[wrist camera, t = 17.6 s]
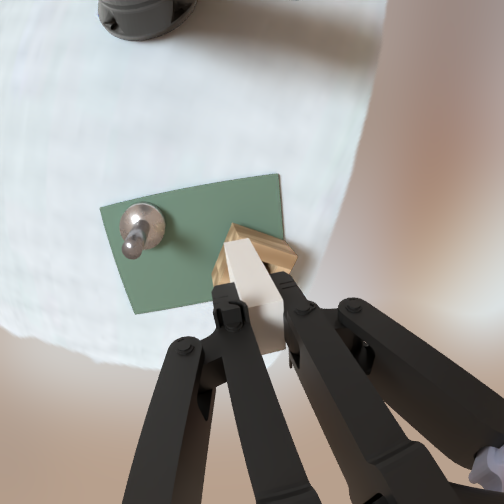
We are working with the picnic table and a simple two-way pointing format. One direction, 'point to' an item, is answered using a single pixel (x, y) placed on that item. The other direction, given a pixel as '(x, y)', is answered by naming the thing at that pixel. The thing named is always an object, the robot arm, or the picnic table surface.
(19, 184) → the picnic table surface
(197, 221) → the mat
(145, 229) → the stand
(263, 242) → the square wooden frame
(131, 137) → the picnic table surface
